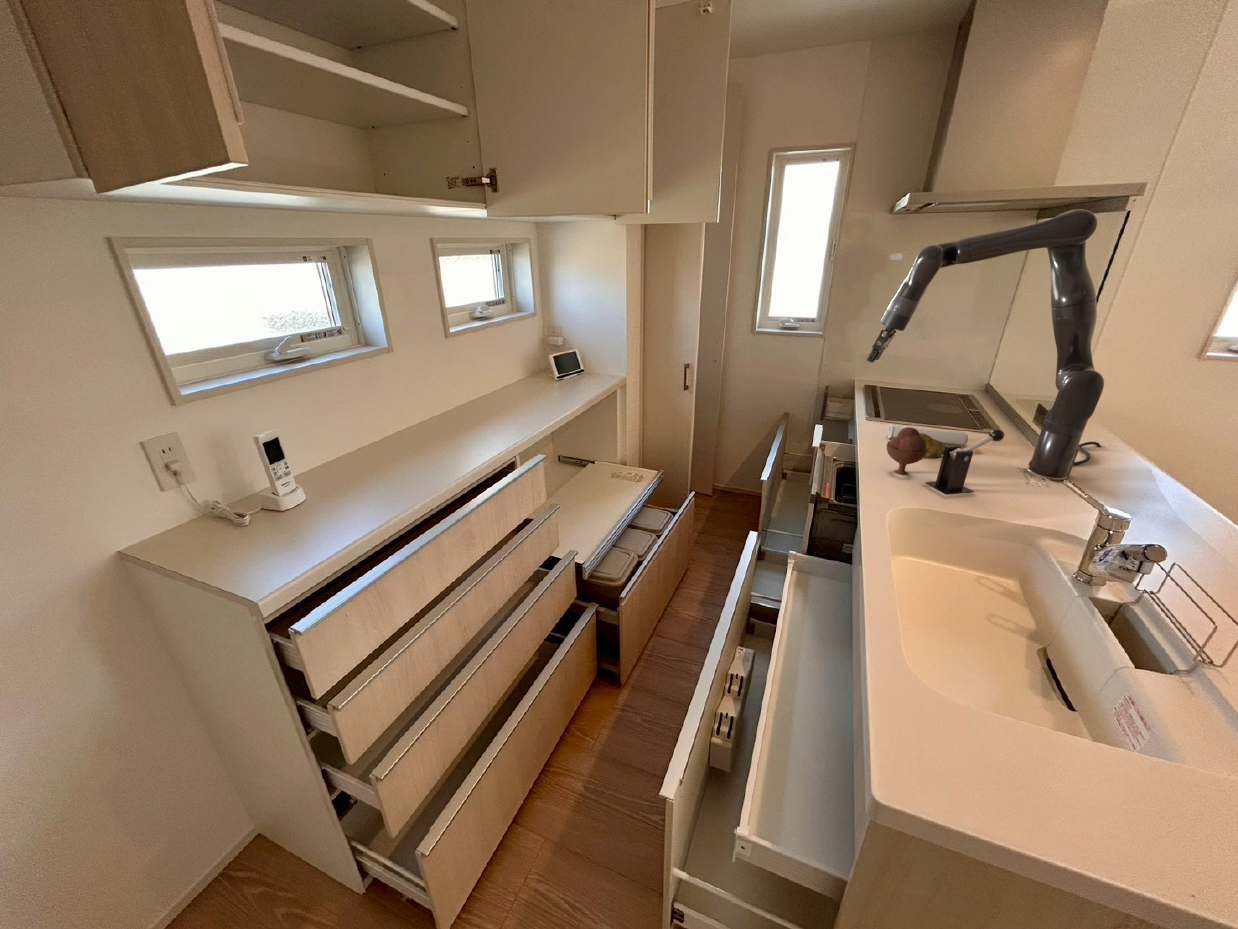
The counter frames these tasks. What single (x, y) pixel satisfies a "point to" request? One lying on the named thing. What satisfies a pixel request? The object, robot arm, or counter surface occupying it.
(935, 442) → the pear
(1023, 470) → the counter surface
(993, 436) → the lever
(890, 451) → the ice cream bowl
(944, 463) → the upright post with base
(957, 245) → the robot arm
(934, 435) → the tube
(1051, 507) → the counter surface
